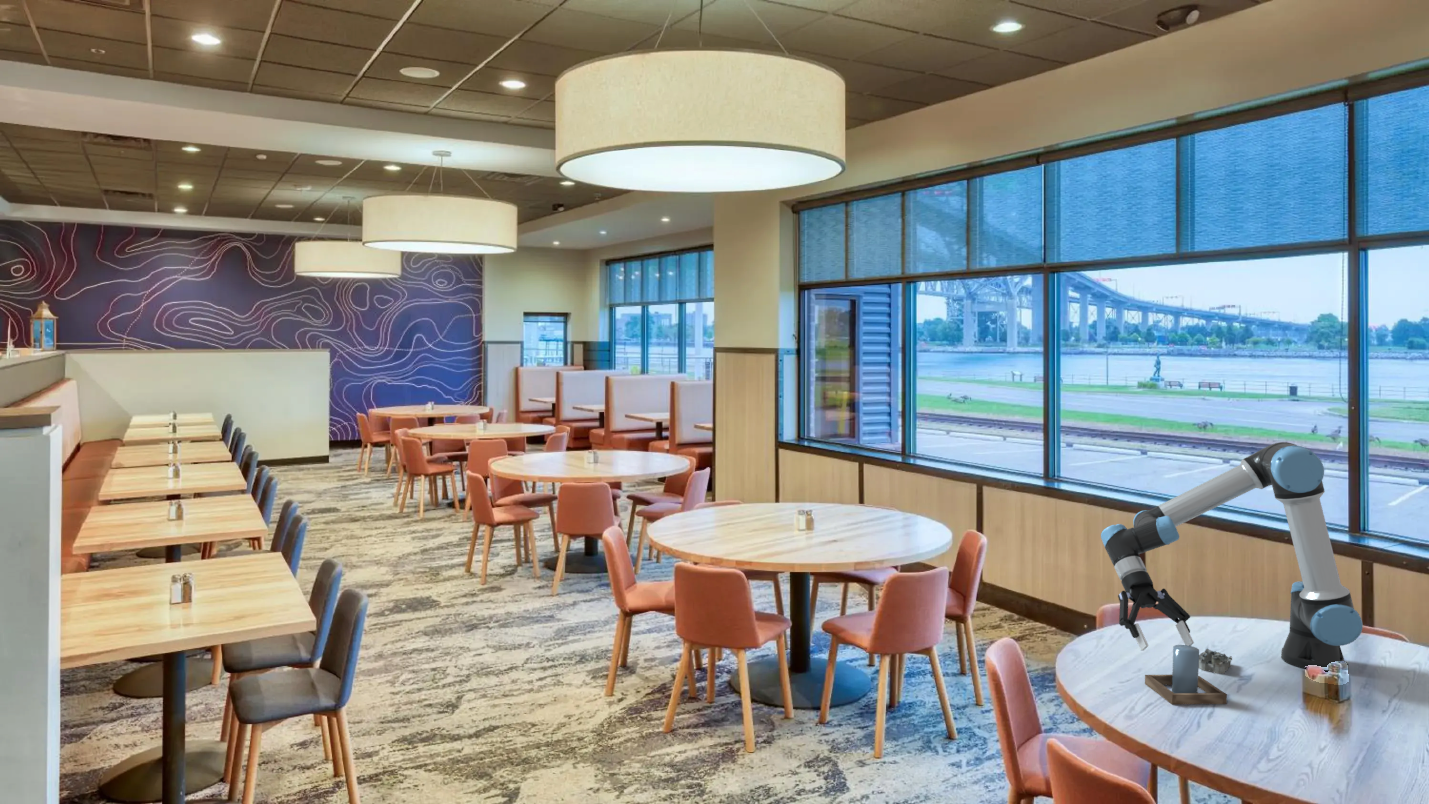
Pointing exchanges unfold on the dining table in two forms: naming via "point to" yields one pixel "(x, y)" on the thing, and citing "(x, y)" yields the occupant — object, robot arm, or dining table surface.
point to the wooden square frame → (1210, 697)
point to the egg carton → (1214, 661)
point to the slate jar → (1185, 669)
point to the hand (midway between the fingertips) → (1167, 646)
